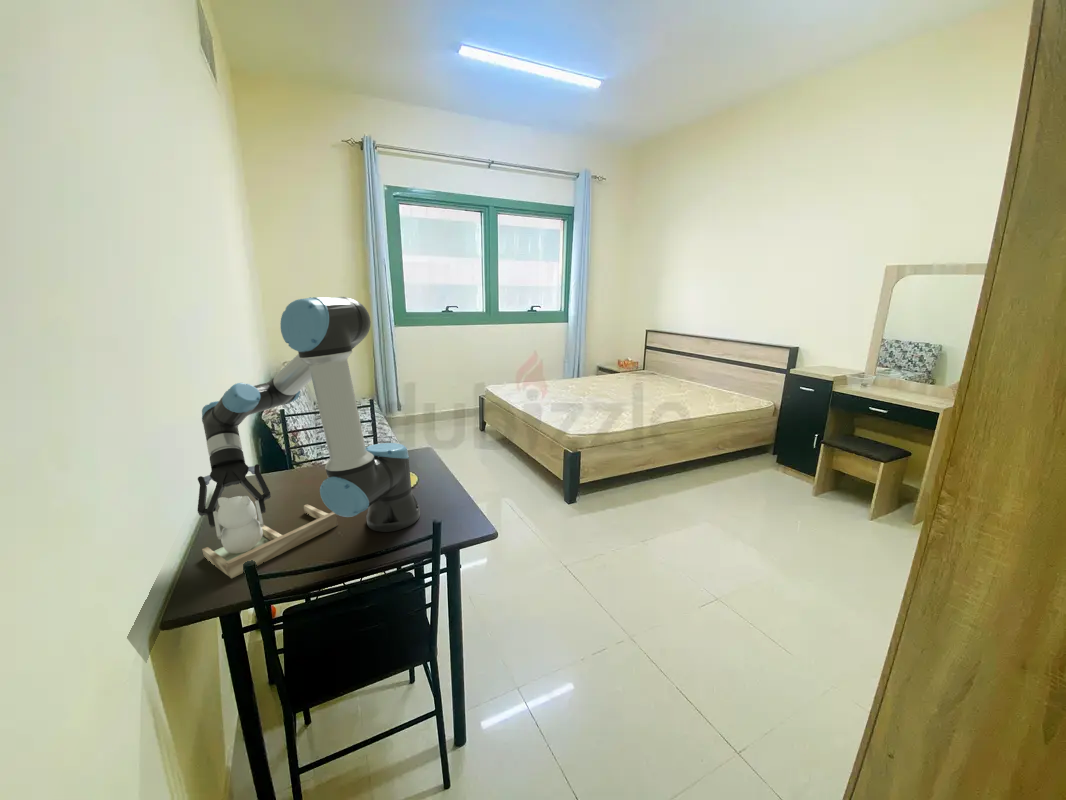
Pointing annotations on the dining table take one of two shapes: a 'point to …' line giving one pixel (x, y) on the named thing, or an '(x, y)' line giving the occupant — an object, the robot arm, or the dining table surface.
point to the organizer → (272, 543)
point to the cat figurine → (238, 524)
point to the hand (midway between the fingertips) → (241, 531)
